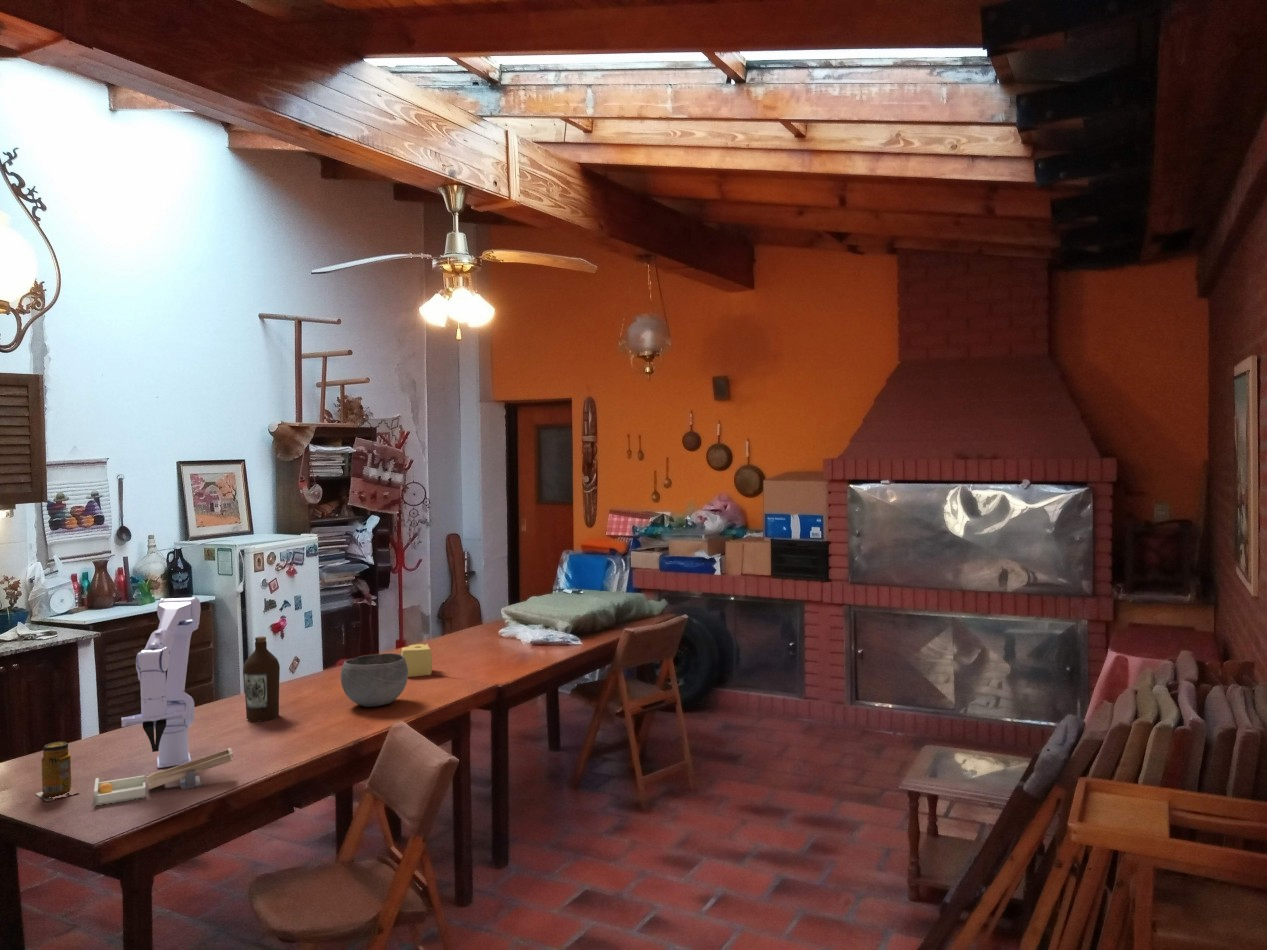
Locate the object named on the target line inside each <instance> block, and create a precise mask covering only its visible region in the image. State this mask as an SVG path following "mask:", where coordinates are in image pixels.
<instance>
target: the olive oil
mask: <svg viewBox="0 0 1267 950" xmlns="http://www.w3.org/2000/svg"><path fill="white" fill-rule="evenodd" d="M254 640H255V641H254V648H255V649H254V651H253V652H252V653H251V654H250V655H249V657H247V658H246V660H245V662H244V665H243V667H242V668H243V669H242V674H243V684H244V696H245V713H246V720H247V719H248V720H247V721H249V720H251V721H250V722H265V721H264V720H266V721H271V720H274V719H276V717H277V718H278V717H279V715H280V675H281V674H280V673H281V672H280V670H281V669H280V668H281V667H280V663H279V660H278V658H277V657H276V656H275V655H274V654H273V653H272V652H271V651H269V649H268V647H267V646H268V643H267V636H257V637H255V638H254ZM270 719H271V720H270Z"/></svg>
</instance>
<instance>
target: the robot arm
mask: <svg viewBox="0 0 1267 950" xmlns="http://www.w3.org/2000/svg"><path fill="white" fill-rule="evenodd" d="M201 611H202V609H201V602H200V599H199V598H198V596H193V597H178V598H177V597H176V598H175V597H172V598H171V597H170V598H165V597H162V598H160V600H159V601H158V603H157V608H156V613H157V617H158V619H159V624H158V627H157V629H156V630H154V631H152V633H151V634H150V636H149V638H148V639H147V642H146V645H145V647H144V649H142V650H141V651H139V652H137V654H136V657H135V669H136V672H137V679H138V681H139V684H140V708H141V710H140V712H141V713H139V714H135V715H129V716H125V717H123V716H122V717H121V728H126V727H128V726H134V725H142V729H143V731H144V732H145V734H146V736H147V738H148V740H149V743H150V746H151V751H152V752H153V753H155V752H158V756H157V757H156V765H157V768H158V769H161V768H168V767H176V766H179V765H182V764H185V763H188V762H191V761H192V759H191V754H190V753H191V752H189V728H190V727H191V726H192V725H193V723H194V720H195V715H196V714H195V713H196V712H195V701H194V698H193V697H192V696H191V695H189V693H187V692H185V689H186V688H185V687H186V680H187V671H188V663H189V655H190V654H189V653H190V646H191V645H190V644H191V638H192V634H193V632H194V631H196V630H198V629H199V625H200V619H201V618H200V617H201ZM166 671H167V672H166Z"/></svg>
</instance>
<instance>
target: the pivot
mask: <svg viewBox="0 0 1267 950" xmlns="http://www.w3.org/2000/svg"><path fill="white" fill-rule="evenodd" d="M179 781H180V789H185V790H189V788H191V789H195V788H194V787H197V788H201V787H202V783H201V777H200V775H196V773H195V770H190V771H186V777H183V778H180V779H179Z"/></svg>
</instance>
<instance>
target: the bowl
mask: <svg viewBox="0 0 1267 950" xmlns="http://www.w3.org/2000/svg"><path fill="white" fill-rule="evenodd" d="M408 678H409V677H408V667H407V663H406V660H405V658H404V656H403V655H401V653H400V654H398V653H393V652H392V653H378V654H376V653H374V654H367V655H361V656H357V657H356V656H355V657H353V658H350V659H347V660H344V662H343V664H342V666H341V670H340V684H341V686H342V690H343V692H344V694H345V695H346V697H347V698H348V699H349V700H350V701H351V702H352V703H355V704H356V705H358V706H360V707H366V708H373V707H380V706H386V705H388V704H391V703H392V702H394V701H395V700H396V699H398V697H400V695H402V694H403V692H404V690H405V688H406V686H407V682H408Z"/></svg>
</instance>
